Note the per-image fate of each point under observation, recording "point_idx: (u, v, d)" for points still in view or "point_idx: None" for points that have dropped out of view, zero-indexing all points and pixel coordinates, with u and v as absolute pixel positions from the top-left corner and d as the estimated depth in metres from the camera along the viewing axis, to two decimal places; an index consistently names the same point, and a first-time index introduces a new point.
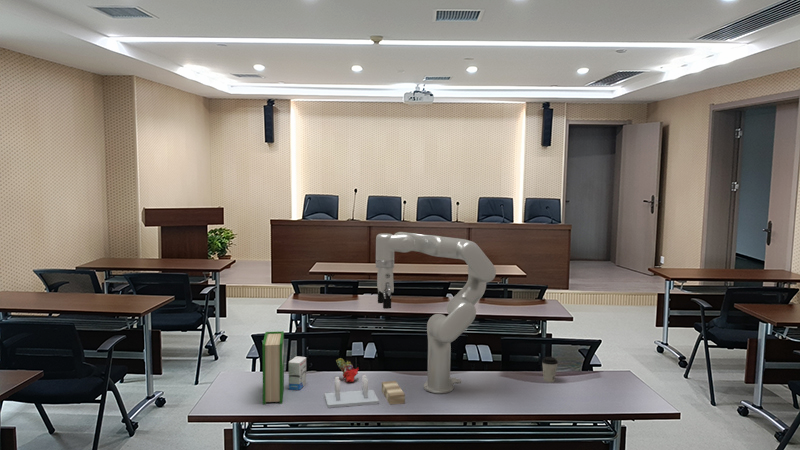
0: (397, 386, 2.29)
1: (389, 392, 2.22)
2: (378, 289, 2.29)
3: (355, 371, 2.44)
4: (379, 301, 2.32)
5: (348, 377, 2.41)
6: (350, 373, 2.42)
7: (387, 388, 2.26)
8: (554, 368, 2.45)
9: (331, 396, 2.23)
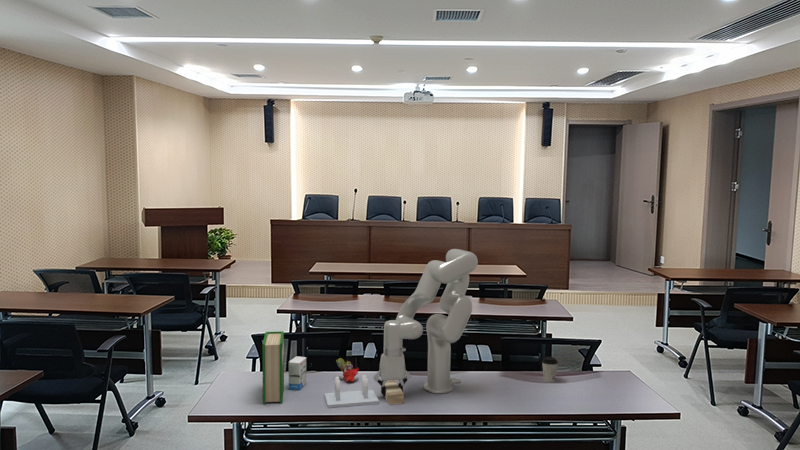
0: (396, 385, 2.28)
1: (388, 391, 2.22)
2: (388, 379, 2.24)
3: (355, 371, 2.44)
4: None
5: (348, 377, 2.41)
6: (350, 373, 2.42)
7: (386, 387, 2.26)
8: (554, 368, 2.45)
9: (331, 396, 2.23)
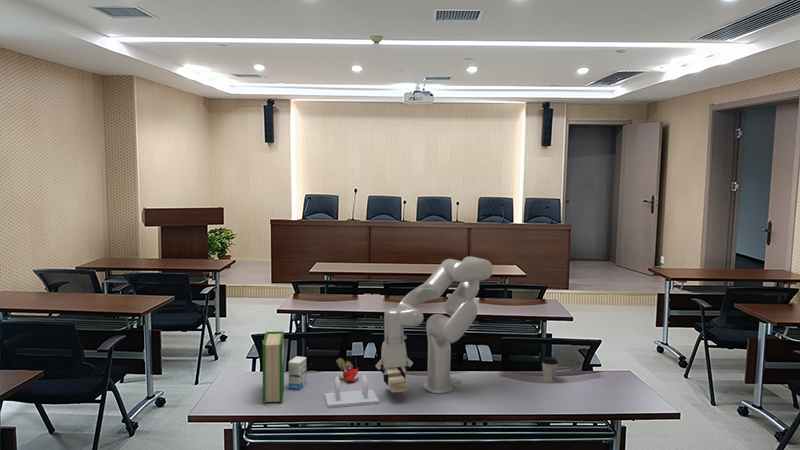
0: (399, 373, 2.28)
1: (390, 379, 2.22)
2: (390, 367, 2.24)
3: (355, 371, 2.44)
4: None
5: (348, 377, 2.41)
6: (350, 373, 2.42)
7: (389, 375, 2.26)
8: (554, 368, 2.45)
9: (331, 396, 2.23)
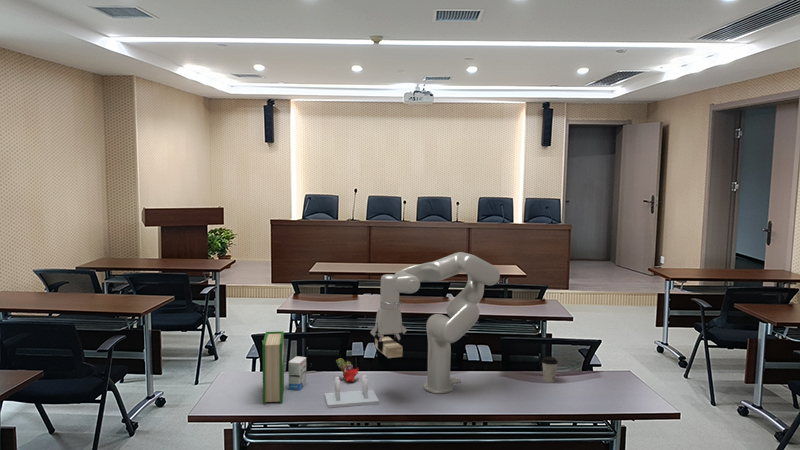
0: (392, 340, 2.27)
1: (386, 345, 2.20)
2: (385, 333, 2.22)
3: (355, 371, 2.44)
4: None
5: (348, 377, 2.41)
6: (350, 373, 2.42)
7: (383, 342, 2.24)
8: (554, 368, 2.45)
9: (331, 396, 2.23)
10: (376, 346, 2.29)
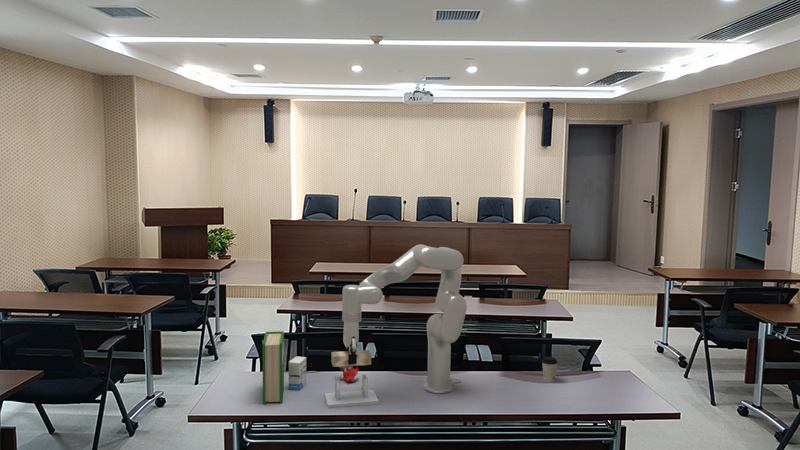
0: (347, 351, 2.23)
1: (363, 354, 2.20)
2: (357, 344, 2.20)
3: (355, 371, 2.44)
4: None
5: (348, 377, 2.41)
6: (350, 373, 2.42)
7: None
8: (554, 368, 2.45)
9: (331, 396, 2.23)
10: (338, 364, 2.18)
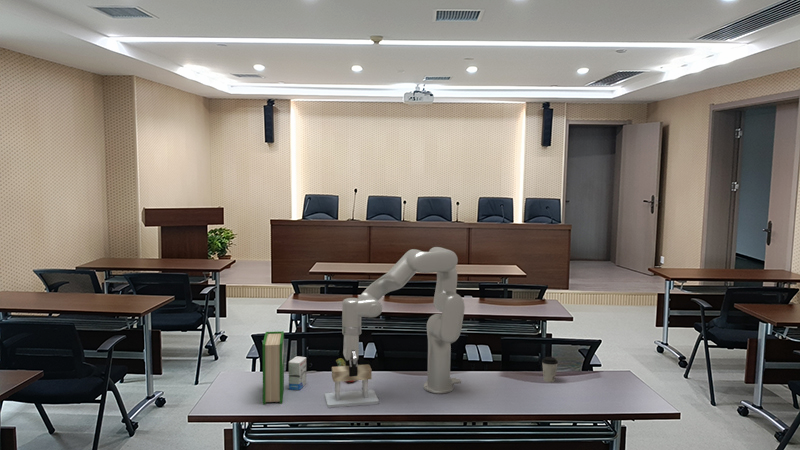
0: (347, 366, 2.24)
1: (363, 369, 2.21)
2: None
3: None
4: None
5: None
6: None
7: None
8: (554, 368, 2.45)
9: (331, 396, 2.23)
10: (338, 379, 2.18)
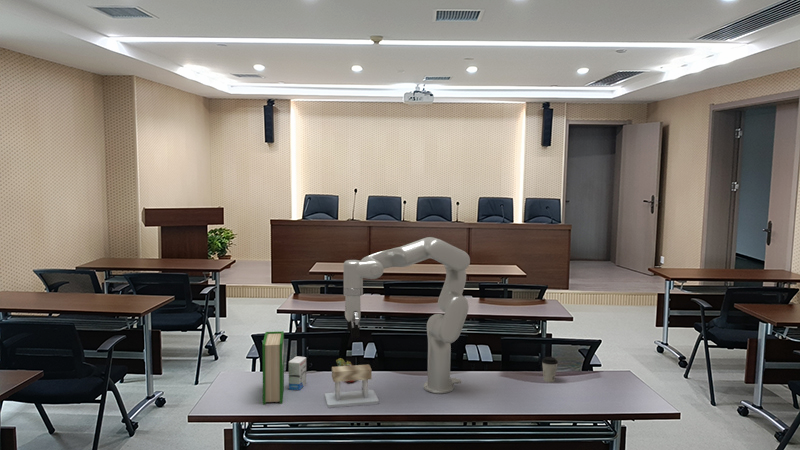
0: (347, 366, 2.24)
1: (363, 369, 2.21)
2: None
3: None
4: None
5: None
6: None
7: (352, 370, 2.20)
8: (554, 368, 2.45)
9: (331, 396, 2.23)
10: (338, 379, 2.18)
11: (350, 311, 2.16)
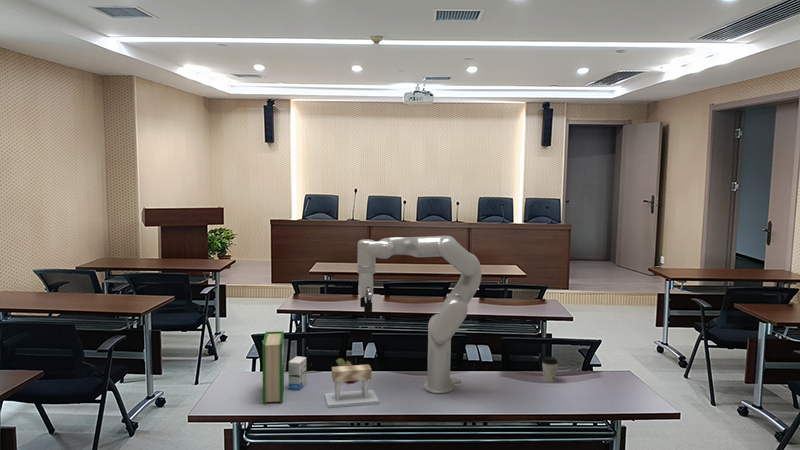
0: (347, 366, 2.24)
1: (363, 369, 2.21)
2: (371, 295, 2.33)
3: None
4: None
5: None
6: None
7: (352, 370, 2.20)
8: (554, 368, 2.45)
9: (331, 396, 2.23)
10: (338, 379, 2.18)
11: (363, 287, 2.29)
